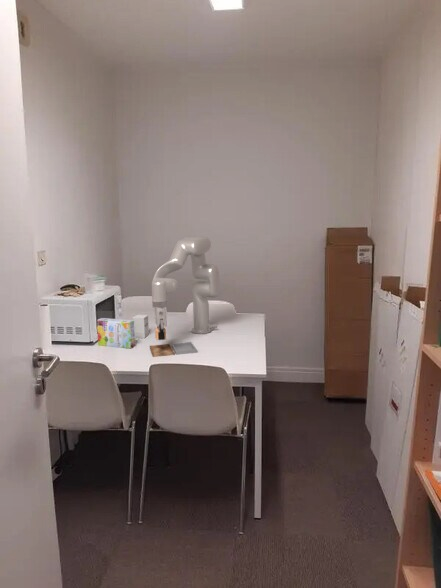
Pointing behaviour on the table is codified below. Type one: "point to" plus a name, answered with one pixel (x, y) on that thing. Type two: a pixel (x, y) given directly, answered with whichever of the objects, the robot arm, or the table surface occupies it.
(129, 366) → the table surface
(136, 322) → the supplement box
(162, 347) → the wooden tray
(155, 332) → the letter cube
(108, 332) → the snack box
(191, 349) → the grey tray
